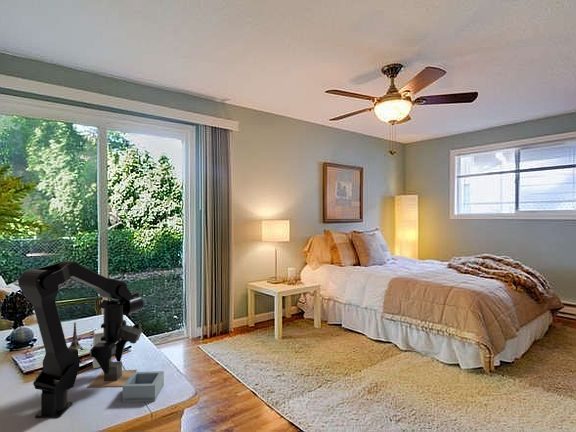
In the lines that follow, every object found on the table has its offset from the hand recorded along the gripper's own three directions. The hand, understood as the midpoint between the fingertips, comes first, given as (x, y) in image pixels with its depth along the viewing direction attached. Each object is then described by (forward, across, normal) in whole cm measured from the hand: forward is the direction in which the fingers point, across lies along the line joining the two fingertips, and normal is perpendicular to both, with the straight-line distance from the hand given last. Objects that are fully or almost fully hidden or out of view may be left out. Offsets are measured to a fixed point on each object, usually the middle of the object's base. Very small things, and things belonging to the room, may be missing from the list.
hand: (113, 367), depth 113 cm
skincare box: (+4, +11, +8) cm, 14 cm away
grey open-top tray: (+4, -10, -13) cm, 17 cm away
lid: (+4, 0, 0) cm, 4 cm away
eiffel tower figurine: (+4, +22, +23) cm, 32 cm away
